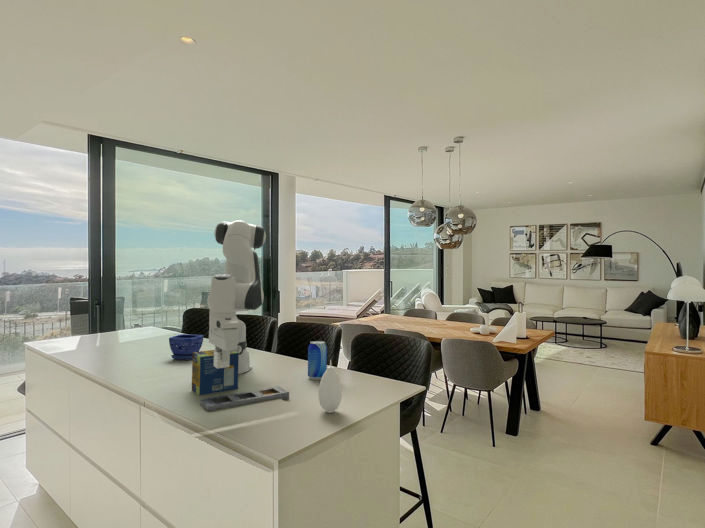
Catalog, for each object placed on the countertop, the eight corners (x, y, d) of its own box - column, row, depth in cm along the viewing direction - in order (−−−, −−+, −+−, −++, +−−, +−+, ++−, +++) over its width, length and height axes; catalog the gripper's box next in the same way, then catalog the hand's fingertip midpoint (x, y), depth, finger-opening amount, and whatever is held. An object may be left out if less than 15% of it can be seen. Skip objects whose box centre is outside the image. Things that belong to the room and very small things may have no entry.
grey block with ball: (213, 366, 144) (213, 349, 144) (225, 364, 146) (225, 348, 146) (217, 368, 140) (217, 351, 141) (229, 367, 143) (229, 350, 143)
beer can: (303, 377, 183) (304, 342, 183) (317, 374, 189) (318, 339, 190) (316, 381, 178) (317, 344, 178) (330, 378, 184) (330, 342, 184)
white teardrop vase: (314, 414, 138) (315, 360, 138) (324, 406, 145) (325, 356, 145) (336, 417, 135) (336, 362, 135) (344, 409, 142) (345, 358, 142)
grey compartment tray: (200, 406, 143) (200, 399, 143) (278, 392, 161) (278, 386, 161) (207, 414, 136) (208, 406, 136) (289, 398, 154) (289, 392, 154)
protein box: (191, 391, 161) (191, 351, 162) (229, 385, 170) (230, 347, 171) (198, 398, 153) (199, 356, 153) (238, 391, 162) (239, 352, 162)
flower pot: (181, 355, 228) (181, 333, 228) (203, 356, 226) (204, 334, 226) (167, 360, 215) (168, 337, 215) (191, 361, 213) (191, 338, 213)
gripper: (204, 317, 150) (203, 355, 150) (223, 324, 134) (222, 367, 133) (221, 316, 154) (221, 353, 154) (241, 323, 137) (240, 364, 137)
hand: (221, 359), depth 143 cm, fingers closed on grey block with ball, 4 cm apart
